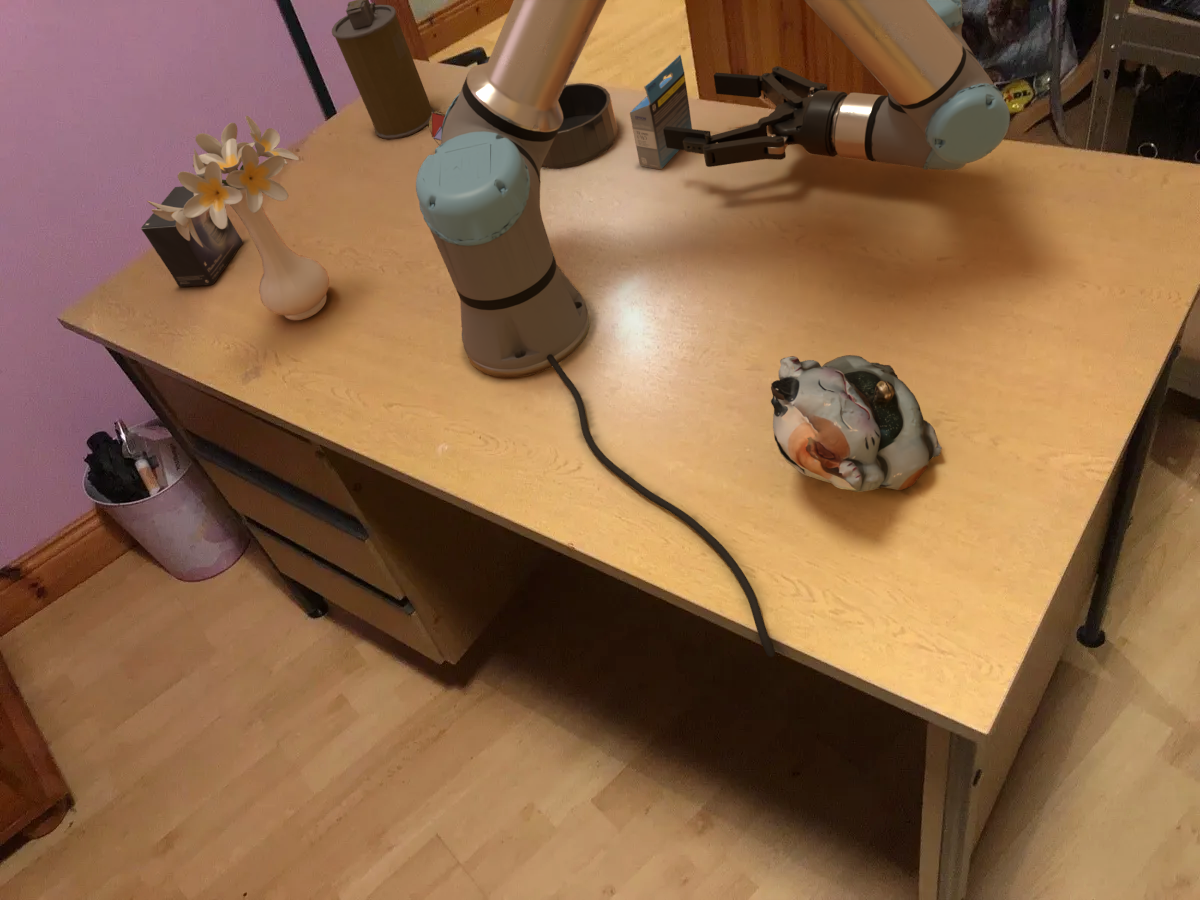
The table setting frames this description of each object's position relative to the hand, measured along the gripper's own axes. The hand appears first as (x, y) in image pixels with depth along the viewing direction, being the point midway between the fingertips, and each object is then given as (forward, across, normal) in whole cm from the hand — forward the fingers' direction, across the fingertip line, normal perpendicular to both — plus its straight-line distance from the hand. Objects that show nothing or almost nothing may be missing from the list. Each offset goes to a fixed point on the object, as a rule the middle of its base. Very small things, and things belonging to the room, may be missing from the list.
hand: (691, 109), depth 126 cm
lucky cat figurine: (-41, -44, -7) cm, 60 cm away
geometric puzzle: (+40, -6, -7) cm, 41 cm away
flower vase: (+36, -46, -7) cm, 58 cm away
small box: (+60, -42, -7) cm, 74 cm away
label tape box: (+5, 0, -7) cm, 9 cm away
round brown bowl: (+21, -1, -7) cm, 22 cm away
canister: (+56, -1, -7) cm, 56 cm away
